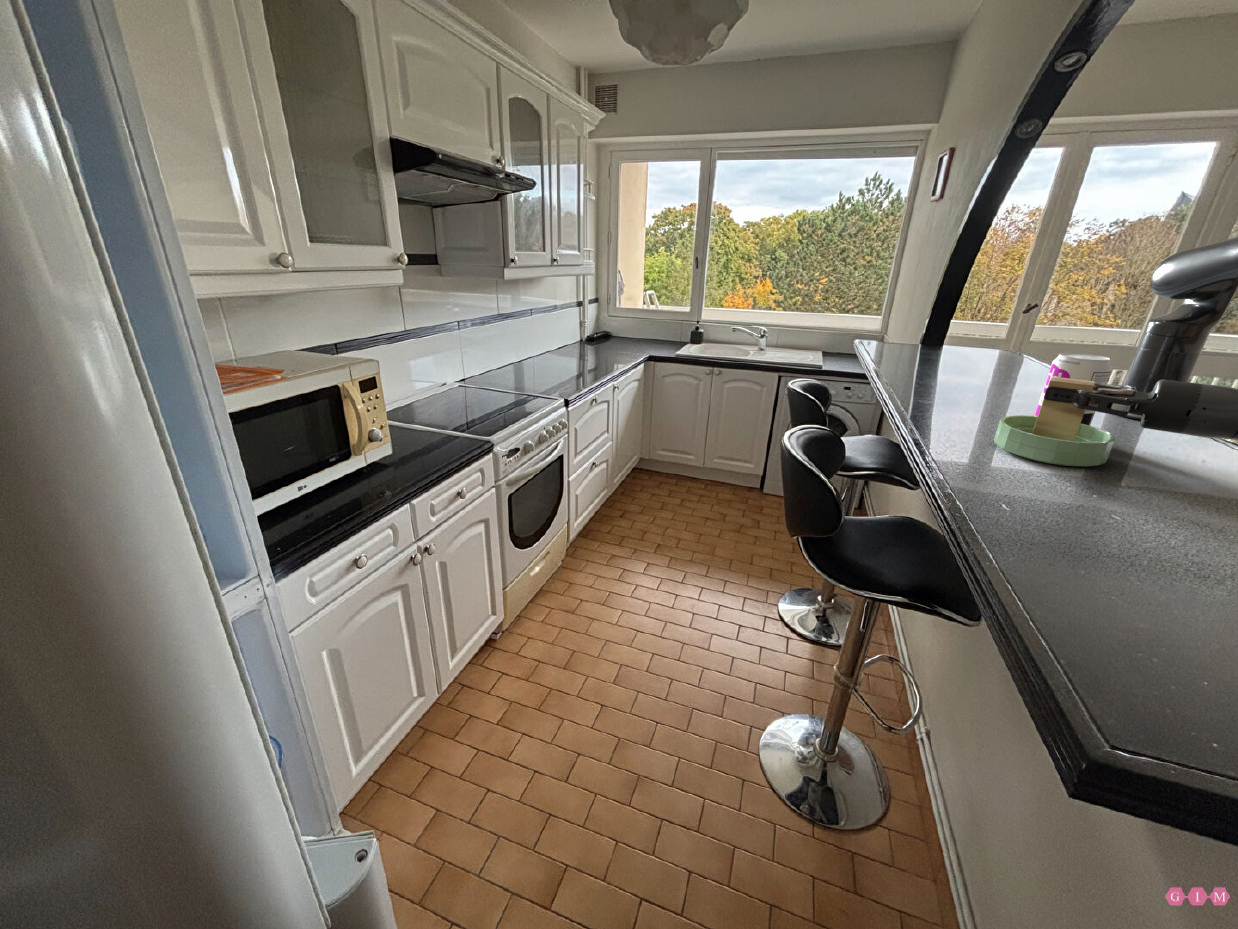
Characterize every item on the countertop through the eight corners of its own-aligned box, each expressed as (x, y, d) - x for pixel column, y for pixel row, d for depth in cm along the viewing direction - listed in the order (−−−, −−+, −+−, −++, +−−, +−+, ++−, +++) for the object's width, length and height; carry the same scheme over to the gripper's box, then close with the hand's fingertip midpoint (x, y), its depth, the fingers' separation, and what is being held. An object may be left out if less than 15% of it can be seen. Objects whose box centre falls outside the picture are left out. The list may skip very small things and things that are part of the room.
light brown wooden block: (1032, 437, 90) (1052, 376, 86) (1072, 444, 87) (1095, 381, 83) (1029, 443, 87) (1049, 380, 83) (1070, 451, 84) (1094, 385, 80)
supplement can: (1040, 439, 94) (1068, 358, 88) (1022, 426, 101) (1047, 351, 96) (1093, 444, 92) (1125, 361, 86) (1070, 431, 99) (1098, 354, 94)
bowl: (986, 433, 97) (993, 411, 95) (1086, 446, 91) (1095, 422, 89) (1002, 459, 84) (1010, 434, 83) (1120, 476, 78) (1131, 449, 77)
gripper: (1199, 376, 78) (1057, 362, 89) (1210, 392, 68) (1050, 374, 79) (1178, 423, 81) (1043, 403, 92) (1187, 444, 71) (1034, 420, 82)
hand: (1047, 390), depth 85 cm, fingers closed on light brown wooden block, 4 cm apart
